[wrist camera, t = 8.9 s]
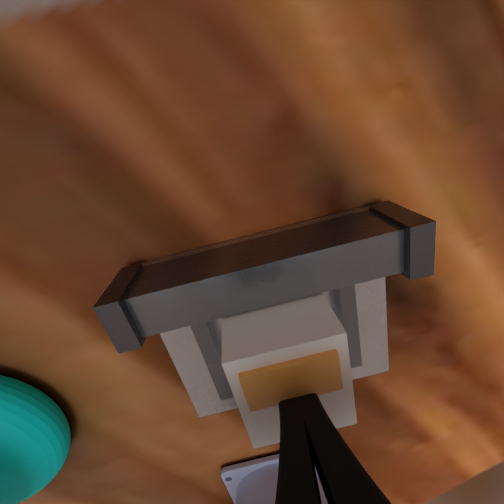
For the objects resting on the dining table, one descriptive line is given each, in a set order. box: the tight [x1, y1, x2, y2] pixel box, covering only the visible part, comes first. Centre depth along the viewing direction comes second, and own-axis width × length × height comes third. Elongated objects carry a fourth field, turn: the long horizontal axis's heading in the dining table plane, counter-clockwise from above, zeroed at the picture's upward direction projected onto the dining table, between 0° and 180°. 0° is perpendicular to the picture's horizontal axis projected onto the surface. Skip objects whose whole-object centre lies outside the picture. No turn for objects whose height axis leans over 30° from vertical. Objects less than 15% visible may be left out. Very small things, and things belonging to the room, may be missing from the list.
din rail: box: [93, 201, 436, 418], centre depth 15 cm, size 12×14×4 cm
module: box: [222, 293, 357, 449], centre depth 13 cm, size 5×4×6 cm
